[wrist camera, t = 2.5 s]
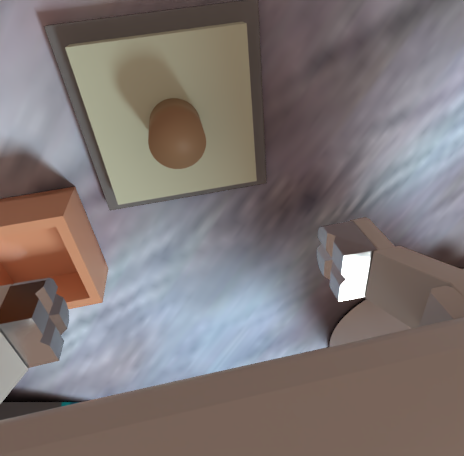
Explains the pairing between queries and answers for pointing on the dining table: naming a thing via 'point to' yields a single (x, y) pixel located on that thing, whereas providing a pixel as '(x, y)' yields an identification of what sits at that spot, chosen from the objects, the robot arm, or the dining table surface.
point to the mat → (159, 23)
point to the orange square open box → (52, 245)
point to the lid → (170, 109)
